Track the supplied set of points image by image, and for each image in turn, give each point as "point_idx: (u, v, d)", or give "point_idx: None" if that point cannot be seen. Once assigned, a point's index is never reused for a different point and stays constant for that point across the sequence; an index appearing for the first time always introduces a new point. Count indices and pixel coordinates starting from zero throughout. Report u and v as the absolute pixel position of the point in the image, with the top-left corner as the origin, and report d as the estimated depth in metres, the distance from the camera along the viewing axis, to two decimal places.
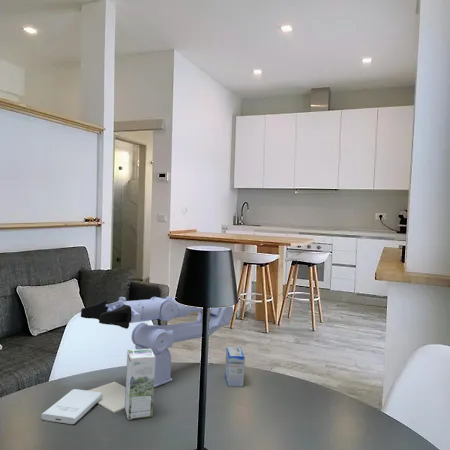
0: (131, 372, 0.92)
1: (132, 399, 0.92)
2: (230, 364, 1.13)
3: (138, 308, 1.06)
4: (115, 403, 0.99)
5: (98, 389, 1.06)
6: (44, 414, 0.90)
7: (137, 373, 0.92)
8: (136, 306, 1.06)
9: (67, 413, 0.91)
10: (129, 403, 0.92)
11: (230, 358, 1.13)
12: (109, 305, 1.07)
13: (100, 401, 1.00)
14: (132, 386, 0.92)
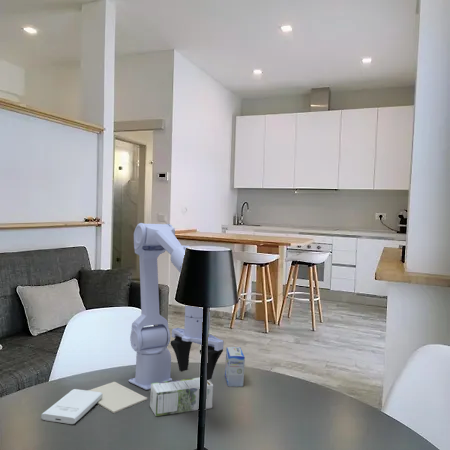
0: None
1: (175, 393, 0.96)
2: (230, 364, 1.13)
3: (201, 323, 0.90)
4: (115, 403, 0.99)
5: (98, 389, 1.06)
6: (44, 414, 0.90)
7: None
8: (198, 326, 0.90)
9: (67, 413, 0.91)
10: (172, 391, 0.96)
11: (230, 358, 1.13)
12: None
13: (100, 401, 1.00)
14: (188, 391, 0.97)
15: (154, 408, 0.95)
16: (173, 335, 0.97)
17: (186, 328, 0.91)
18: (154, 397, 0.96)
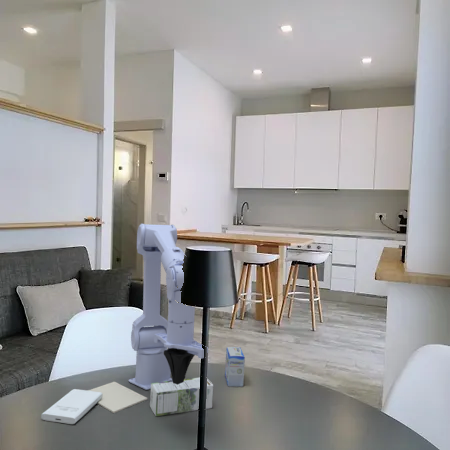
0: None
1: (175, 393, 0.96)
2: (230, 364, 1.13)
3: (185, 329, 0.86)
4: (115, 403, 0.99)
5: (98, 389, 1.06)
6: (44, 414, 0.90)
7: None
8: (182, 332, 0.86)
9: (67, 413, 0.91)
10: (172, 391, 0.96)
11: (230, 358, 1.13)
12: None
13: (100, 401, 1.00)
14: (188, 391, 0.97)
15: (154, 408, 0.95)
16: (156, 340, 0.92)
17: (169, 334, 0.87)
18: (154, 397, 0.96)
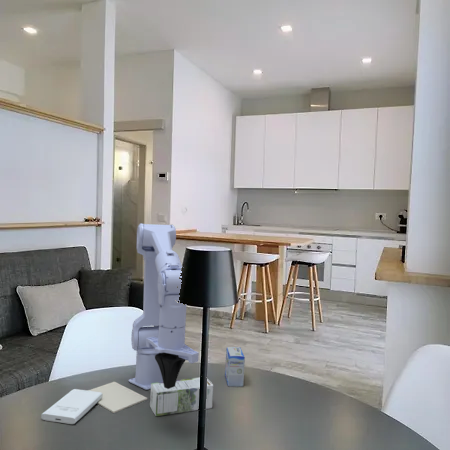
0: None
1: (175, 393, 0.96)
2: (230, 364, 1.13)
3: (175, 334, 0.86)
4: (115, 403, 0.99)
5: (98, 389, 1.06)
6: (44, 414, 0.90)
7: None
8: (173, 336, 0.86)
9: (67, 413, 0.91)
10: (172, 391, 0.96)
11: (230, 358, 1.13)
12: None
13: (100, 401, 1.00)
14: (188, 391, 0.97)
15: (154, 408, 0.95)
16: (147, 345, 0.92)
17: (160, 338, 0.87)
18: (154, 397, 0.96)
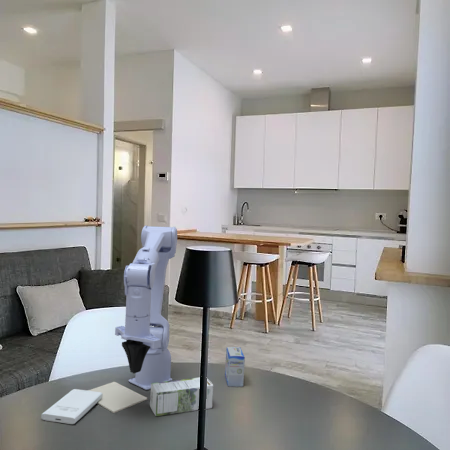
0: None
1: (175, 393, 0.96)
2: (230, 364, 1.13)
3: (140, 322, 0.94)
4: (115, 403, 0.99)
5: (98, 389, 1.06)
6: (44, 414, 0.90)
7: None
8: (137, 325, 0.93)
9: (67, 413, 0.91)
10: (172, 391, 0.96)
11: (230, 358, 1.13)
12: None
13: (100, 401, 1.00)
14: (188, 391, 0.97)
15: (154, 408, 0.95)
16: (116, 333, 1.00)
17: (126, 327, 0.94)
18: (154, 397, 0.96)
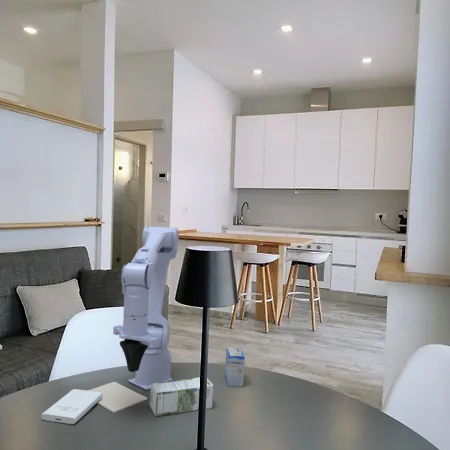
0: None
1: (175, 393, 0.96)
2: (230, 364, 1.13)
3: (138, 322, 0.94)
4: (115, 403, 0.99)
5: (98, 389, 1.06)
6: (44, 414, 0.90)
7: None
8: (135, 324, 0.94)
9: (67, 413, 0.91)
10: (172, 391, 0.96)
11: (230, 358, 1.13)
12: None
13: (100, 401, 1.00)
14: (188, 391, 0.97)
15: (154, 408, 0.95)
16: (114, 332, 1.00)
17: (124, 326, 0.95)
18: (154, 397, 0.96)
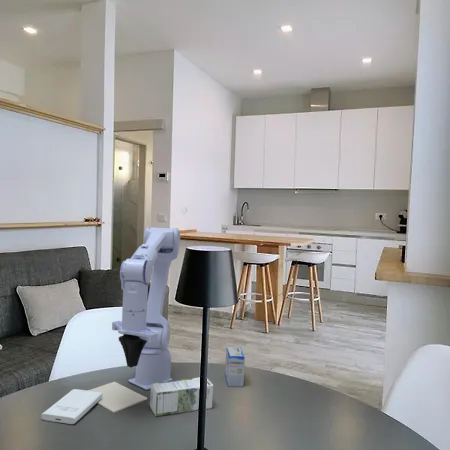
0: None
1: (175, 393, 0.96)
2: (230, 364, 1.13)
3: (137, 317, 0.95)
4: (115, 403, 0.99)
5: (98, 389, 1.06)
6: (44, 414, 0.90)
7: None
8: (134, 319, 0.94)
9: (67, 413, 0.91)
10: (172, 391, 0.96)
11: (230, 358, 1.13)
12: None
13: (100, 401, 1.00)
14: (188, 391, 0.97)
15: (154, 408, 0.95)
16: (113, 328, 1.01)
17: (123, 321, 0.95)
18: (154, 397, 0.96)
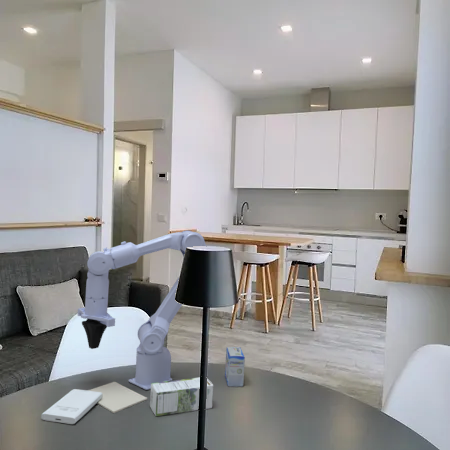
0: None
1: (175, 393, 0.96)
2: (230, 364, 1.13)
3: (97, 304, 1.06)
4: (115, 403, 0.99)
5: (98, 389, 1.06)
6: (44, 414, 0.90)
7: None
8: (95, 305, 1.06)
9: (67, 413, 0.91)
10: (172, 391, 0.96)
11: (230, 358, 1.13)
12: None
13: (100, 401, 1.00)
14: (188, 391, 0.97)
15: (154, 408, 0.95)
16: (78, 314, 1.12)
17: (85, 307, 1.07)
18: (154, 397, 0.96)
